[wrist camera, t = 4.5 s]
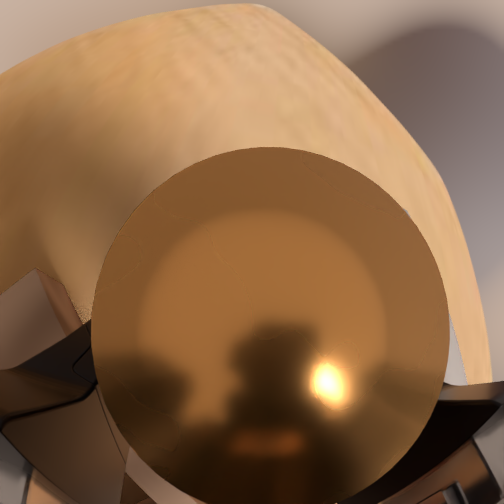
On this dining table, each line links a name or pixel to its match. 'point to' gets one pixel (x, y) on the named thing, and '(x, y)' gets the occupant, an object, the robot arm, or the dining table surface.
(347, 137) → the dining table surface
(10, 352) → the grey hollow block
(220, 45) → the dining table surface
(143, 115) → the dining table surface
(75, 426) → the robot arm
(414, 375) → the metallic cylinder
